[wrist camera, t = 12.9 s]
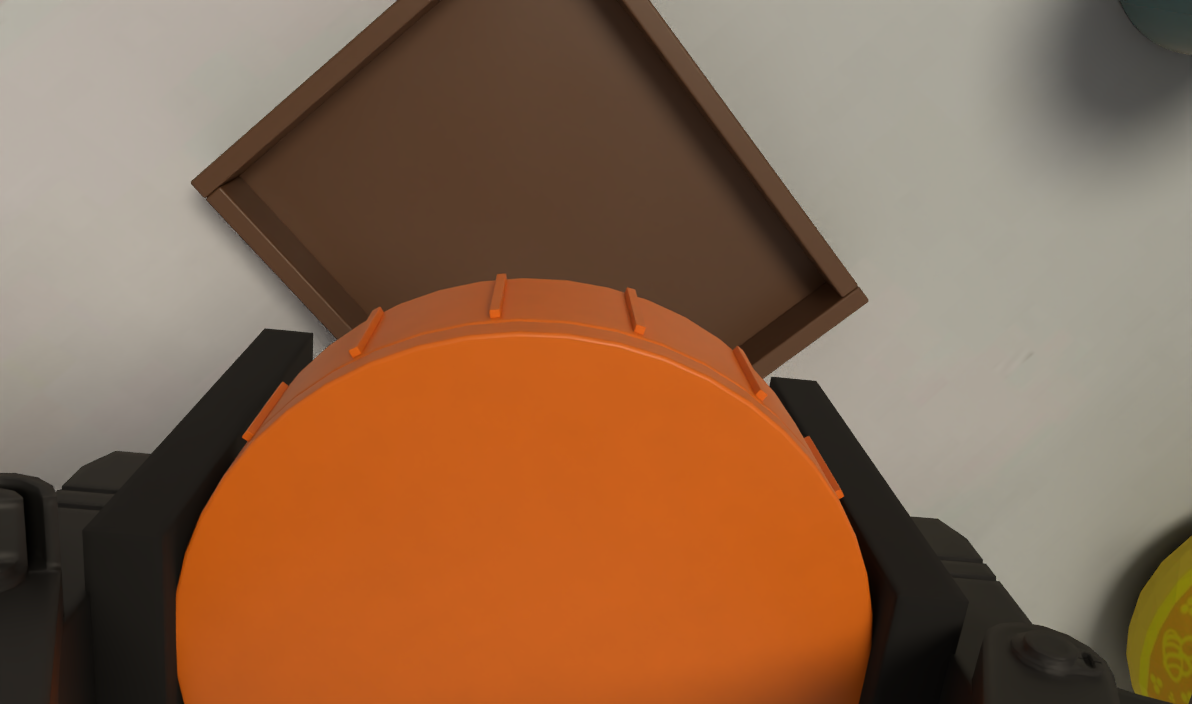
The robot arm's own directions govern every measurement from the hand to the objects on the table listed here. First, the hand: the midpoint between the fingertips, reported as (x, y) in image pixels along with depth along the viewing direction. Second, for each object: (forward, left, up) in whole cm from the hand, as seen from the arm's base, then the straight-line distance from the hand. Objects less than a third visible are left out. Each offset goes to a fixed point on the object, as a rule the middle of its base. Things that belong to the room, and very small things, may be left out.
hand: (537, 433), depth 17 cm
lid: (0, 0, +6) cm, 6 cm away
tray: (0, 0, -16) cm, 16 cm away
